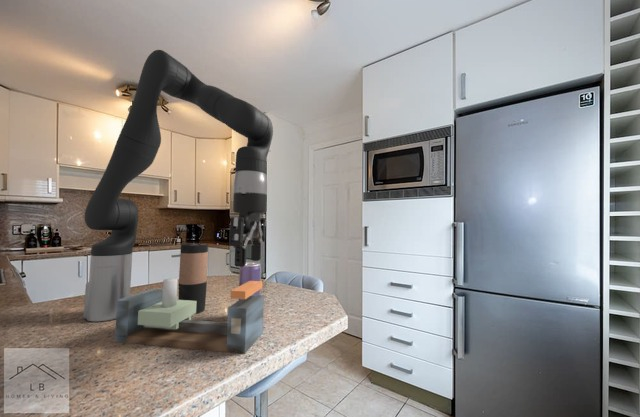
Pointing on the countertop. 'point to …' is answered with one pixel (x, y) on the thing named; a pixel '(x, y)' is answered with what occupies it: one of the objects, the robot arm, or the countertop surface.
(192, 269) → the travel mug
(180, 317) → the carriage
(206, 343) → the rail base
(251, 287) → the orange rectangular bar
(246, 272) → the beverage can
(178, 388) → the countertop surface
